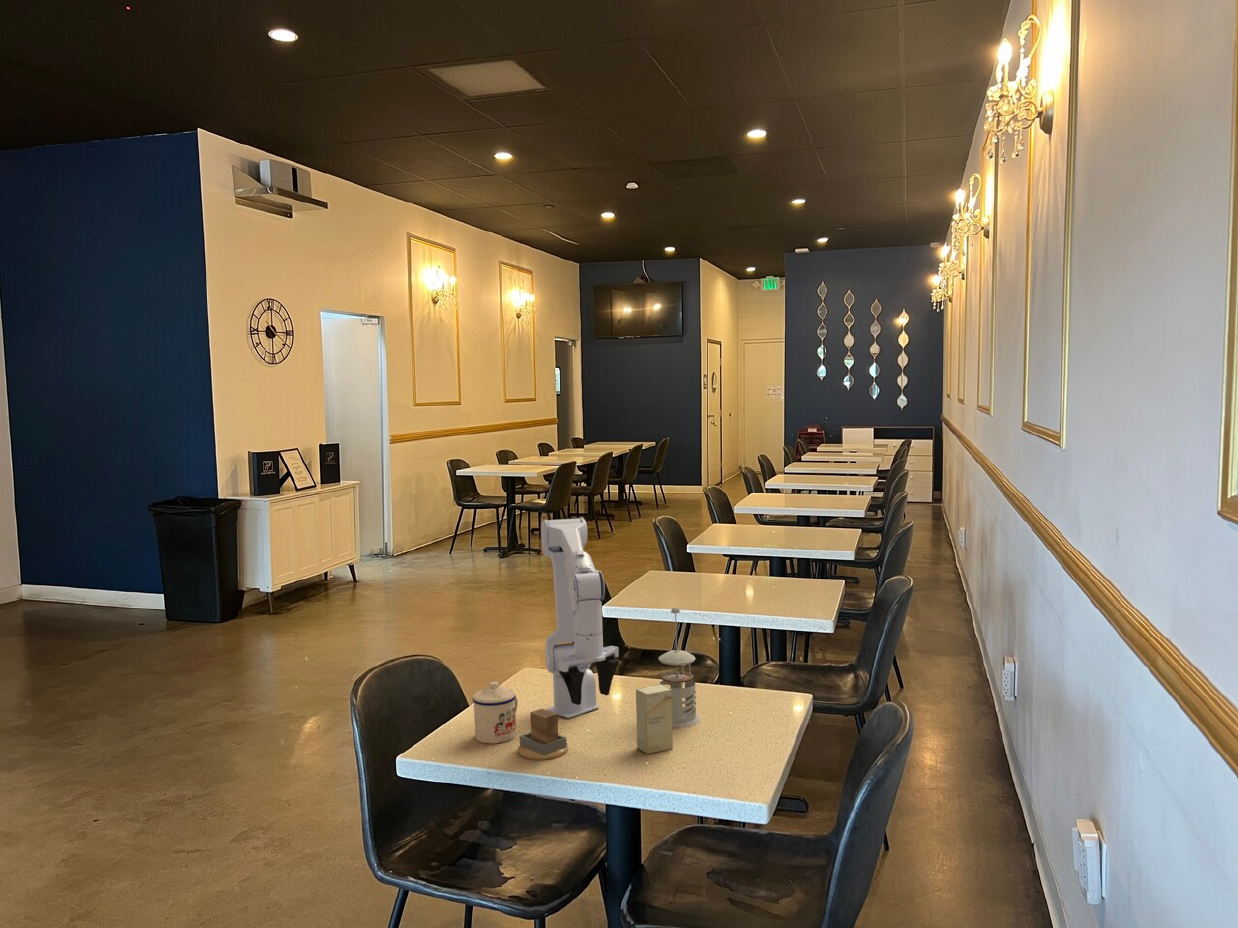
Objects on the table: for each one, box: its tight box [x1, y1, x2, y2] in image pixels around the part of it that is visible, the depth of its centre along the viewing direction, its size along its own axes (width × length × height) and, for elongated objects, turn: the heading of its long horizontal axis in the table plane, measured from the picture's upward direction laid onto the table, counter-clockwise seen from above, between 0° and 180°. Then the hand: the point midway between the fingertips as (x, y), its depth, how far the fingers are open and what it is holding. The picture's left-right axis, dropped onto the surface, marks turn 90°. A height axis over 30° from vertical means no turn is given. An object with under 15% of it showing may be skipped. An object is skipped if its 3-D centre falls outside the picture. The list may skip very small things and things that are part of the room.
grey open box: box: [518, 731, 569, 761], centre depth 182 cm, size 10×10×3 cm
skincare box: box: [635, 684, 674, 754], centre depth 181 cm, size 6×4×12 cm
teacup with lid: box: [472, 681, 519, 744], centre depth 191 cm, size 12×9×12 cm
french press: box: [657, 606, 702, 728], centre depth 197 cm, size 10×12×25 cm
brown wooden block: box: [530, 708, 559, 744], centre depth 181 cm, size 3×5×7 cm, turn 44°
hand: (590, 698), depth 181 cm, fingers open, 7 cm apart
